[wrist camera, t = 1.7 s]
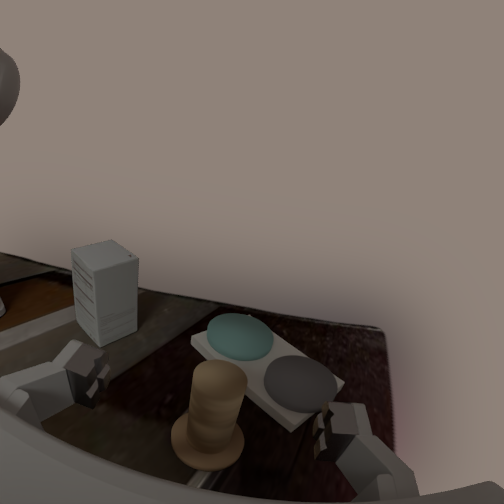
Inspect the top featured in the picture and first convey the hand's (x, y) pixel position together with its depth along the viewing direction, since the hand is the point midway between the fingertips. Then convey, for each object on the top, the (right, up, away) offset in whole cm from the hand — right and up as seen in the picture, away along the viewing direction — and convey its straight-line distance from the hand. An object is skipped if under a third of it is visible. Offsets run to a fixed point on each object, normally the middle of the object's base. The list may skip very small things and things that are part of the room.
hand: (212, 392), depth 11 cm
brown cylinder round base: (-4, -16, +20) cm, 26 cm away
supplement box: (-21, -7, +34) cm, 40 cm away
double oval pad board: (+3, -12, +33) cm, 36 cm away
